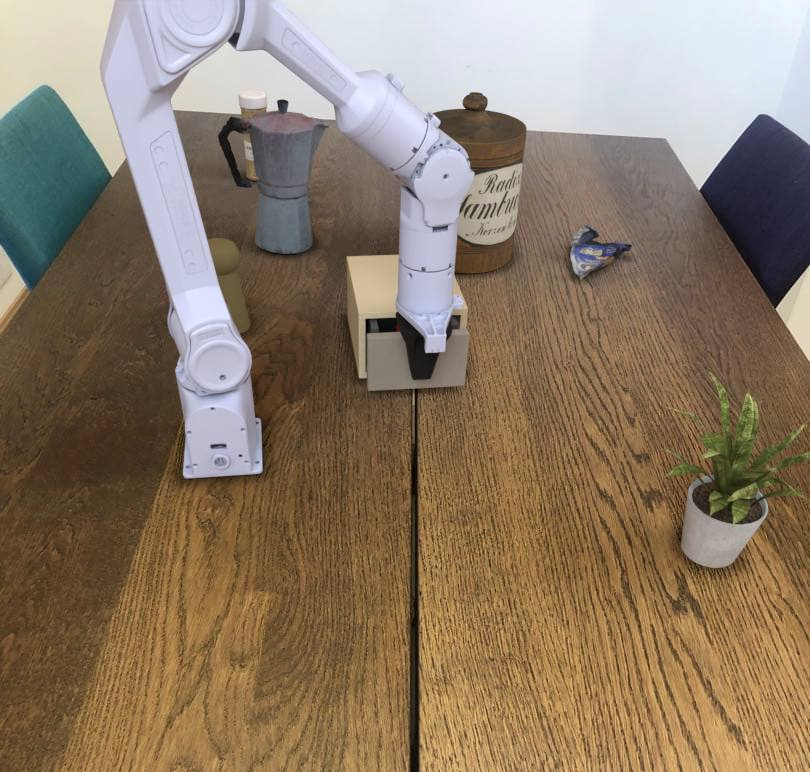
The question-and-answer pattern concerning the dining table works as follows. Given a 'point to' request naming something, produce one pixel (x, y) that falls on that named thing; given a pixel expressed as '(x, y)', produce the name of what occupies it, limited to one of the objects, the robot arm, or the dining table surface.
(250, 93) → the sprinkles bottle
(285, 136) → the moka pot
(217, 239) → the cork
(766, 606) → the dining table surface
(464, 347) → the drawer
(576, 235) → the snack package
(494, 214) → the wooden container
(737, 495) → the house plant
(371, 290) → the mini drawer chest
